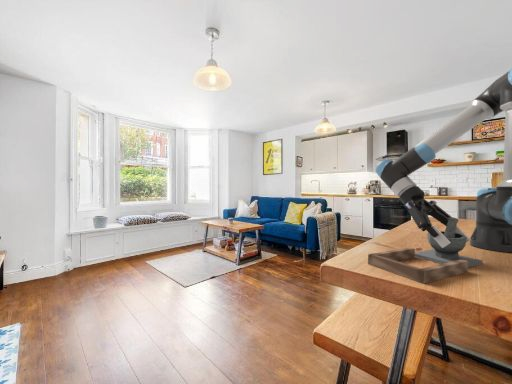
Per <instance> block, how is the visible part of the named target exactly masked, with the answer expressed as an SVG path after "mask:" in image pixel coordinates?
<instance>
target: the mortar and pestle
mask: <svg viewBox="0 0 512 384" xmlns="http://www.w3.org/2000/svg"><path fill="white" fill-rule="evenodd" d="M447 220H448V223H447V226H445V230H444V231H442V230H439V231H440V232H441V233H442V234H443V235H444V236H445V237H446V238H447V239H448V240H449V241H450V242H451V243H450V244H448V245H447V246H445V247H444V248H442V247H441V246H440V245H439V244H438V243H437V242H436V240H435V239H434V238H433V237H432V236H431V235H430V234H429V233H428V232H427V234H426V235H427V241H428V243H429V245H430V246H431V248H432V249H434V250H435V252H434V254H435V255H436V256H438V257H441V258H446V259H457V258H459V255H460V254H459V252H461V251H462V250H464V248H465V247H466V245H467V242H466V236H467V235H466V234H465V235H466V236H465V235H463V234H459V233H456V226H457V227H458V222H459V219H458V218H456V217H453V216H451V217H449V218H448V219H447Z"/></svg>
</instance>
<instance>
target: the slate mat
mask: <svg viewBox="0 0 512 384" xmlns="http://www.w3.org/2000/svg"><path fill="white" fill-rule="evenodd" d="M434 252H435V249H434V248H432V249H428V250H422V251H417V252H416V251H415V258H418V259H421V260H425V261H428V262H432V263H436V264H439V265H440V264H444V263H449V262H453V261H457V260H466V261H468V268H470V267H474V266H479V265H482V264H483V260H482V259H479V258H478V259H477V258H473V257H468V256H464V255H461V254H459V258H457V259H446V258H441V257H438V256H436V255H435V254H434Z"/></svg>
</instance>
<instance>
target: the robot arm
mask: <svg viewBox="0 0 512 384" xmlns="http://www.w3.org/2000/svg"><path fill="white" fill-rule="evenodd" d="M502 112H504V113H505V118H504V119H505V120H504V121H505V122H504V144H503V145H504V146H503V147H504V148H503V150H504V151H503V172H502V181H501V182H500V183H499V184H497V185H496V187H486V188H485V187H484V188H480V189H479V190H477V193H476V199H475V200H476V204H475V205H476V206H475V207H476V210H475V211H476V213H475V214H476V215H475V219H476V220H475V228H474V229H473V231H472V233H471V236H470V237H469V236H468V235H467V234H466V233H465V232H464V231H463V230H462V229H460V227H459V226H458V225H457V226H456V233H459V234H463V235H465V236H466V243H467V242H469V245H470V246H471V247H472V246H473V247H475V248H479V249H483V250H489V251H494V252H506V253H512V67H511V68H510V70H508V71H507V72H506V73H503V75H501V76H500V77H498V78H497V79H495V80H494V81H493V82H492V83H491V84H490V85H489V86H488V87H487V88H486V89H485V90H484V91H483V92H481V93H480V94H479V95H478V96H477V97H475V99H473V100H471V102H470V104H469V106H468V107H466V108H465V109H463V110H462V111H461V112H460V113H458V114H457V115H456V116H454V117H452V118H451V119H450V120H449V121H447V122H445V123H444V124H443V125H442V126H441V127H439V128H437V129H436V130H435V131H433V132H432V133H431V134H429V135H428V136H427V137H425V138H424V139H423V140H421V141H419V142H418V143H417V144H416V145H414V146H413V147H412V148H410V149H409V150H408V151H406V152H405V153H404V154H402V155H400V156H399V157H398V158H397V159H395V160H392V159H390V158H386V159H385V160H381V161H380V162H379V163H378V164H377V165H376V167H375V174H377V175H378V177H379V178H380V179H381V180H382V181H383V183H384V184H385V185H386V186H387V187H388V188H389V189H390V190H391V191H392V193H393V194H394V195H395V196H396V197H397V198H399V201H400V202H401V203H402V204H403V205H404V208H405V210H407V212H408V213H409V215H410V216H411V218H412V220H413V221H414V223H415V224H416V226H417V228H418V229H420V230H421V231H422V232H425V231H426V232H427V233H429V234H430V235H431V236H432V237H433V238H434V239H435V240H436V242H437V243H438V244H439V245H440V246H441V247H442V248H444V247H445V246H447V245H448V244H450V243H451V242H450V241H449V240H448V239H447V238H446V237H445V236H444V235H443V234H442V233H441V232H440V231H441V230H440V229H438V227H437V226H436V225H434V224H432V222H431V219H430V217H429V216H431V217H432V218H433V219H434V220H436V221H438V222H439V223H441V224H442V225H444V226H445V227H446V226H447V223H448V220H447V219H448V218H449V217H452V215H450V214H449V213H447V212H446V211H445V210H444V209H442V208H441V206H439V205H438V204H436V202H434V200H430V201H428V200H426V199H425V197H426V196H425V195H426V193H425V192H424V191H423V190H422V189H421V188H420V186H418V184H417V183H416V182H414V181H413V180H412V179H411V178H410V177H409V176H410V175H411V174H413V173H414V172H416V171H418V170H419V169H421V168H423V167H424V166H426V165H427V164H430V162H432V161H434V160H435V158H436V157H437V156H436V154H438V153H439V152H440V151H442V150H443V149H445V148H446V147H447V146H449V145H451V144H452V143H453V142H455V141H456V140H458V139H460V138H461V137H462V136H464V135H465V134H466V133H468V132H469V131H470V130H472V129H474V128H475V127H477V126H478V125H479V124H481V123H482V122H484V121H485V120H491V119H492V118H494V117H496V116H497V115H498V114H500V113H502Z"/></svg>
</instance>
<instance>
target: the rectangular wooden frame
mask: <svg viewBox="0 0 512 384" xmlns="http://www.w3.org/2000/svg"><path fill="white" fill-rule="evenodd" d="M415 252H416V249H415V248H414V247H405V248H398V249H392V250H386V251H379V252H374V253H368V255H367V257H368V258H367V264H368V265H370V266H372V267H376V268H378V269H381V270H384V271H387V272H391V273H393V274H395V275H399V276H401V277H403V278H407V279H410V280H412V281H415V282H418V283H421V284H423V285H424V284H427V283H431V282H435V281H439V280H442V279H447V278H450V277H454V276H456V275H461V274H464V273H468V272H469V267H468V261H466V260H457V261H453V262H449V263H444V264H440V263H439V264H436V265H431V266H427V267H421V268H420V267H419V266H418V267H417V266H414V265H412V264H411V265H410V264H408V263H404V262H400V261H402V260H403V261H404V260H409V259H414V258H416V257H415Z"/></svg>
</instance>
